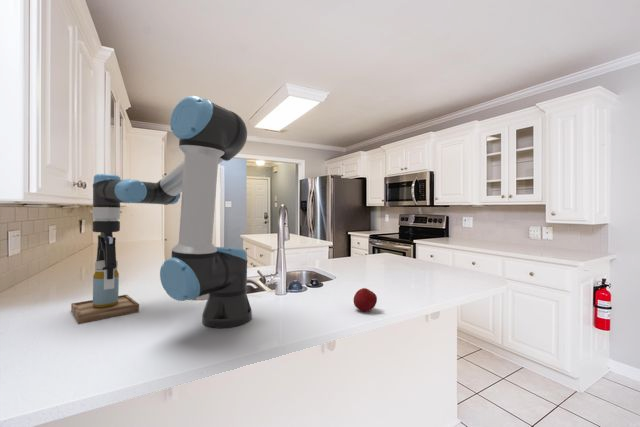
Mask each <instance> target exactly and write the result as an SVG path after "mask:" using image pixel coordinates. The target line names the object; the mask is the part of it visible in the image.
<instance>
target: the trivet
mask: <svg viewBox="0 0 640 427" xmlns="http://www.w3.org/2000/svg"><path fill="white" fill-rule="evenodd" d="M139 312H140V304H139V303H138V302H137V301H136V300H134V299H133V298H132V297H130V295H128V294H122V295H118V303H117V304H116V305H115V306H112V307H107V308H95V307H94V306H93V299H91V300H84V301H79V302H72V303H71V313H72V316H73V317H74V319H75V320H76V322H77V324H78V325H80V324H85V323H91V322H95V321H100V320H104V319H105V320H106V319H110V318H115V317H121V316H124V315H130V314H134V313H139Z"/></svg>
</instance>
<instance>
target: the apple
mask: <svg viewBox="0 0 640 427" xmlns="http://www.w3.org/2000/svg"><path fill="white" fill-rule="evenodd" d="M377 301H378V297H377V295H376V294H375V292H374V291H372V290H370V289H368V288H366V287H363V288H360V289H358V290H357V291H356V292H355V294H354V297H353V305H354V307H355V308H356V309H357V310H359V311H361V312H363V313H364V312H365V313H366V312H367V313H368V312H370V311H372V310H373V309H374V308H375V307H376V305H377Z"/></svg>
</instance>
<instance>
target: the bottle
mask: <svg viewBox="0 0 640 427" xmlns="http://www.w3.org/2000/svg"><path fill="white" fill-rule="evenodd" d="M116 265H117V266H116V268H115V277H114V288H113V289H106V290H104V270H103V267H105V261H104V260H102V261H96V260H95V262H94V273H93V276H92V300H93V306H94V307H95V308H107V307H112V306H115V305H116V304H117V303H118V296H119V290H120V289H119V284H120V283H119V282H120V281H119V280H120V279H119V278H120V276H119V275H120V274H119V272H118V260H117V259H116Z"/></svg>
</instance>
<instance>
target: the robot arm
mask: <svg viewBox="0 0 640 427" xmlns="http://www.w3.org/2000/svg"><path fill="white" fill-rule="evenodd" d="M169 126H170V127H169V128H170V130H171V131H172V134H173V135H174V136H175V137H176V138H178V139H179V142H178V148H179V149H180V150H181V152H182V153H183V154H184V160H183V161H181V163H180V164H178V165H177V166H176V167H175V168H173V169H172V170H171V171H169V172H168V173H166V175H165V176H164V177H162V178H161V179H160V180H158V181H157V182H151V181H141V180H138V179H134V178H133V179H131V178H126V179H121V177H120V176H119V175H115V174H110V173H109V174H108V173H107V174H106V173H98V174H95V175H94V176H93V183H92V219H93V221H92V232H93V233H100V234H98V235H97V249H96V250H97V251H96V259H95V262H96V261H102V260H104V261H105V267H103V270H104V290H106V289H113V288H114V277H115V268H116V266H117V267H118V265H116V260H117V254H116V252H117V250H116V241H117V238H116V237H113V233H118V232H120V230H121V221H119V220H120V219H121V214H122V213H123V211H122V210H121V204H124V203H125V204H144V205H145V204H148V205H149V204H151V205H163V206H165V205H166V206H167V205H175V204H177V203H178V202H179V199H180V198H181V205H180V215H179V216H180V217H179V219H180V220H179V233H178V234H179V235H178V243H177V244H176V245H174V246H173V247H172V248H171V257H169V258H168V259H166V260H164V262H163V263H162V264H161V267H160V269H159V280H160V283H161V286H162V288H163V290H164V291H165V292H166V294H167V295H168V296H169V297H170V298H171V299H173V300H175V301H178V302H183V301H189V300H196V299H197V298H200V297H202V296H205V295H208V297H207V300H206V303H205V306H204V309H203V311H202V315H201V318H202V319H201V322H202V325H204V326H206V327H209V328H218V329H219V328H220V329H221V328H223V329H224V328H226V329H227V328H235V327H237V326H242V325H244V324H246V323H248V322H250V321H251V319H252V317H253V316H252V313H253V310H252V308H251V304H250V300H249V298H248V295H247V292H248V291H247V288H248V286H247V285H248V283H247V282H248V253H247V251H246V250H245V248H238V247H224V246H223V247H222V246H215V245H214V244H213V238H214V236H213V234H214V222H215V210H216V208H215V207H216V196H217V181H218V167H219V165H220V164H221V163H222V162H223V161H225V162H228V161H229V162H230V161H231V160H232V159H233V158H234V157H235V156H237V155H238V154H239V153H240V152H241V151H242V150H243V148H244V146H245V144H246V142H247V139H248V130H247V129H248V128H247V126H246V123H245V120H243V119H242V117H241V116H240V115H238V114H237V113H236V112H234V111H232V110H229V109H226V108H225V107H223V106H220V105H218V104H216V103H214V102H212V101H210V100H209V99H207V98H202V97H200V96H197V95H189V96H185V97H184V98H182V99H180V101H179V102H178V103H177V104H176V105H175V106H174V108H173V109H172V112H171V116H170V120H169Z"/></svg>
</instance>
